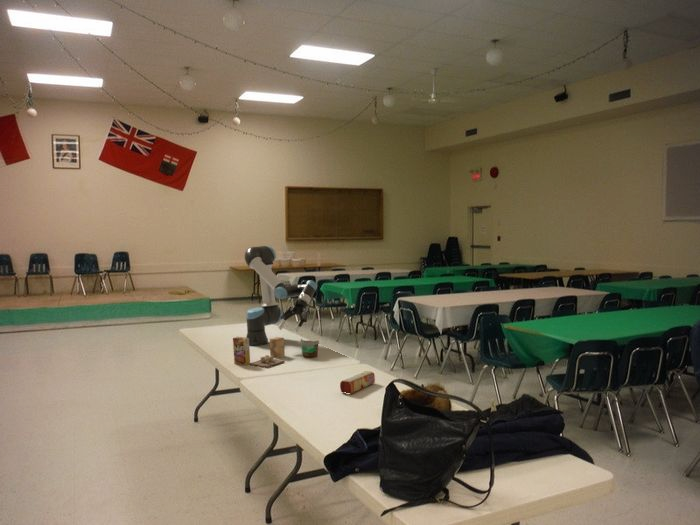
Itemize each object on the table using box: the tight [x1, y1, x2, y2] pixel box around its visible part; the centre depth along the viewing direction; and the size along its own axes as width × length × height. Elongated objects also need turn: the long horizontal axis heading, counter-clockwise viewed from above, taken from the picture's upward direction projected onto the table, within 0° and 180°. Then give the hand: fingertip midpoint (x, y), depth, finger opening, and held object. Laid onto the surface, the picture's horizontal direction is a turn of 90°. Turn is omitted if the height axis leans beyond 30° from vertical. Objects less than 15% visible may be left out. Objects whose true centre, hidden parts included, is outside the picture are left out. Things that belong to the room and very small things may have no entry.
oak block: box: [269, 336, 286, 359], centre depth 330 cm, size 6×6×11 cm
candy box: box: [232, 336, 251, 366], centre depth 315 cm, size 9×4×15 cm, turn 60°
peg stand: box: [248, 355, 286, 369], centre depth 313 cm, size 14×14×4 cm
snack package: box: [339, 370, 376, 394], centre depth 261 cm, size 21×7×7 cm, turn 145°
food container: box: [299, 338, 320, 359], centre depth 325 cm, size 12×6×10 cm, turn 62°
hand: (287, 329), depth 337 cm, fingers open, 13 cm apart
